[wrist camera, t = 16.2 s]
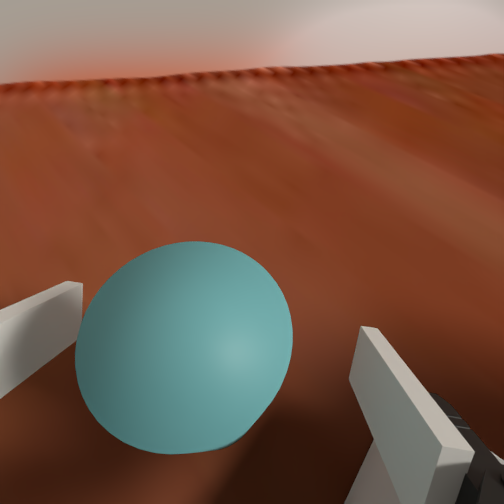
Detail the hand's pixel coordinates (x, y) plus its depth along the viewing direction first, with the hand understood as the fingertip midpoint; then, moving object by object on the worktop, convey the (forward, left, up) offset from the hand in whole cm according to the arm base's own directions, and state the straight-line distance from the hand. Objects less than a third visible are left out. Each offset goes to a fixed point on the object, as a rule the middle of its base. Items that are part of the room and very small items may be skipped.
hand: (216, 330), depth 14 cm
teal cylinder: (+2, +1, -5) cm, 6 cm away
